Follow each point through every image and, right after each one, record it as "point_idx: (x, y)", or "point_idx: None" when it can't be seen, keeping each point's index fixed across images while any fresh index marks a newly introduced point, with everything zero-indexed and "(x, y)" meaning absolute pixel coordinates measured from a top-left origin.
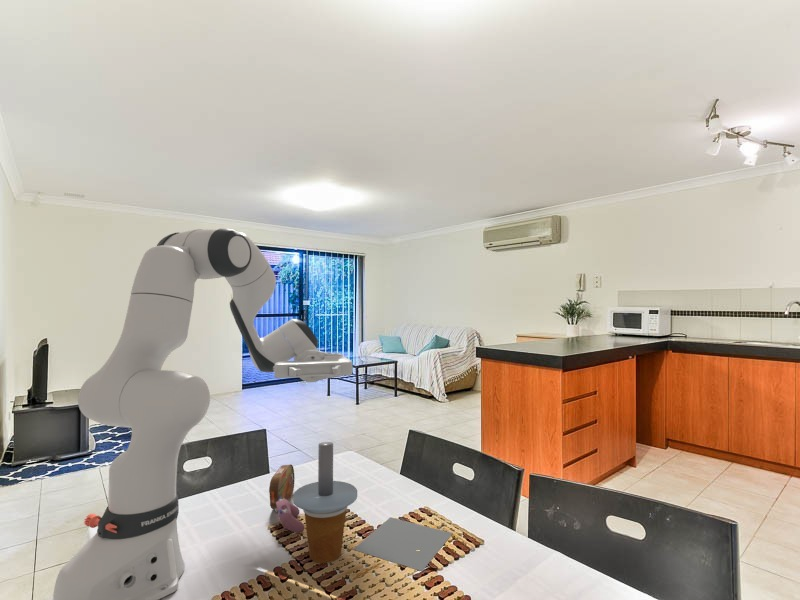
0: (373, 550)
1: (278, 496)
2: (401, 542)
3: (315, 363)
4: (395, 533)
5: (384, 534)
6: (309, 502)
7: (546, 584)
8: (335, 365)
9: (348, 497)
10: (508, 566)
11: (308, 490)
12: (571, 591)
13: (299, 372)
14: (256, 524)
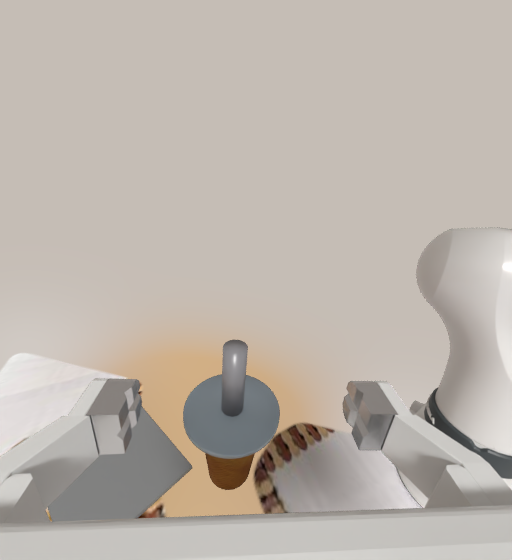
0: (167, 455)
1: None
2: (121, 465)
3: (249, 516)
4: (111, 495)
5: (129, 496)
6: (256, 388)
7: (56, 370)
8: (13, 498)
9: (204, 387)
10: (53, 396)
11: (257, 421)
12: (50, 360)
13: (349, 389)
14: None
